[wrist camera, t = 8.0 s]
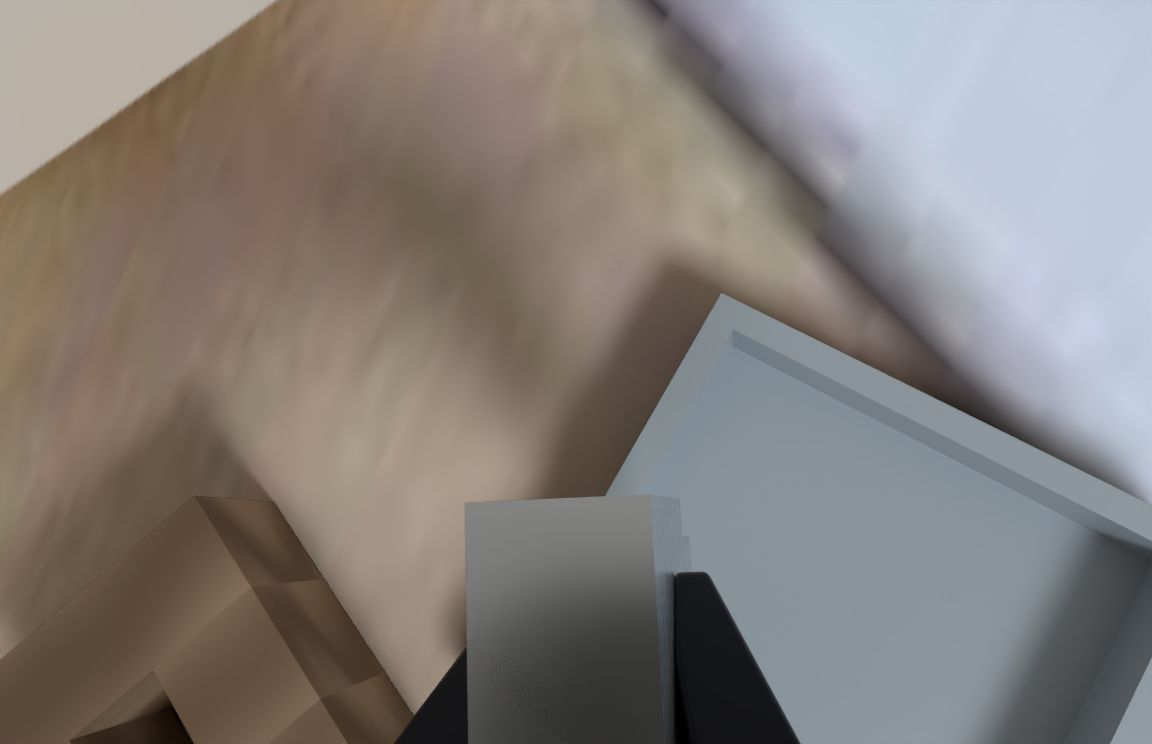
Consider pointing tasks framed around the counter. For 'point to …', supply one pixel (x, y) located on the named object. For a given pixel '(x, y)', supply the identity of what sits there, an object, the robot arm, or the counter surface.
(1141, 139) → the counter surface
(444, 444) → the counter surface
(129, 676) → the socket
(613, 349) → the counter surface
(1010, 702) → the tray
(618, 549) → the grey rectangular block
